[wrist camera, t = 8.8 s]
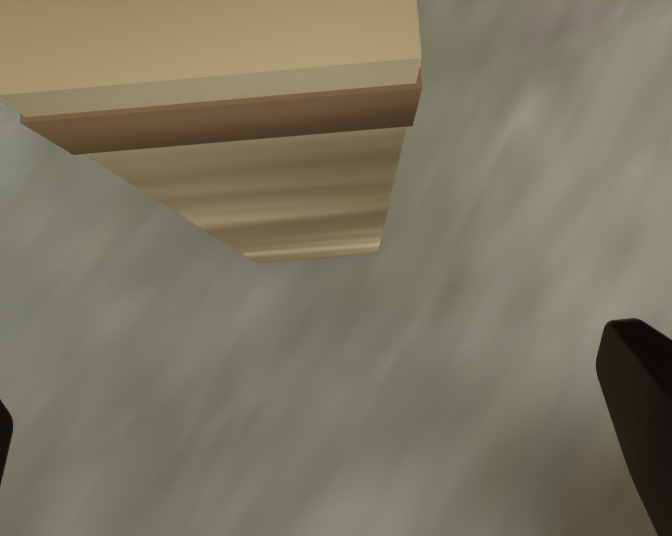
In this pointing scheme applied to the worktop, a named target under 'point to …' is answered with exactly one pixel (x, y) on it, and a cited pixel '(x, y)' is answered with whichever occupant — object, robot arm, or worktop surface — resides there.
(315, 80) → the brown box
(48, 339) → the worktop surface
